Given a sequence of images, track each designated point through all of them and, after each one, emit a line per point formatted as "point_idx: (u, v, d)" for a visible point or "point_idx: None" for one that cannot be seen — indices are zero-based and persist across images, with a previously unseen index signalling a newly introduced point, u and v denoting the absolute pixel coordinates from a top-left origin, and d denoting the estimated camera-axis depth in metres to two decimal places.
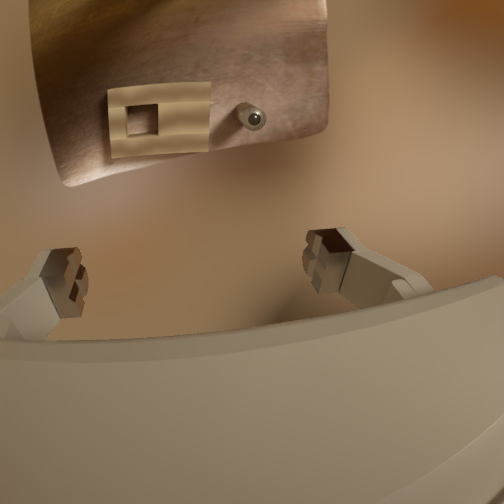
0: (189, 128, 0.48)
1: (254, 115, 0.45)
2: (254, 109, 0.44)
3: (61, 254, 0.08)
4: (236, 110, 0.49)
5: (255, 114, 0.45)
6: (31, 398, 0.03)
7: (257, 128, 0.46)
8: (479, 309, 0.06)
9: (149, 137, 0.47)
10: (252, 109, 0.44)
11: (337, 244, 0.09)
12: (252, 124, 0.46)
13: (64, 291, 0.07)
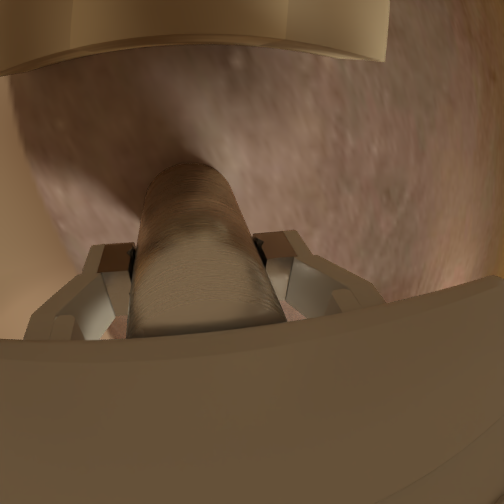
0: None
1: None
2: None
3: (118, 249, 0.08)
4: (205, 178, 0.10)
5: None
6: (31, 398, 0.03)
7: None
8: (479, 309, 0.06)
9: None
10: None
11: (279, 248, 0.09)
12: None
13: (125, 287, 0.08)
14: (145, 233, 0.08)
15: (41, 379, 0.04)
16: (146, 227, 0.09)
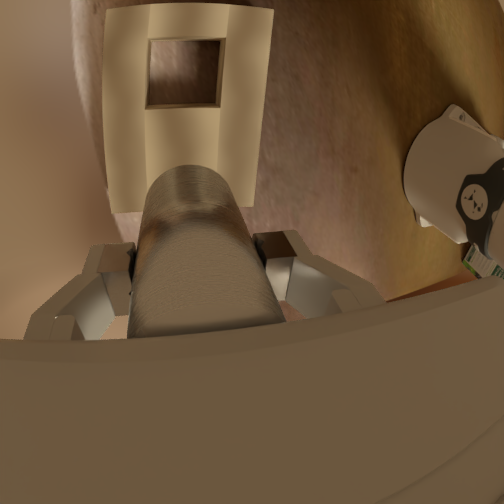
0: (158, 173, 0.23)
1: None
2: None
3: (118, 249, 0.08)
4: (205, 180, 0.10)
5: None
6: (31, 398, 0.03)
7: None
8: (479, 310, 0.06)
9: (142, 90, 0.19)
10: None
11: (280, 248, 0.09)
12: None
13: (125, 287, 0.08)
14: (145, 235, 0.08)
15: (41, 379, 0.04)
16: (146, 229, 0.09)
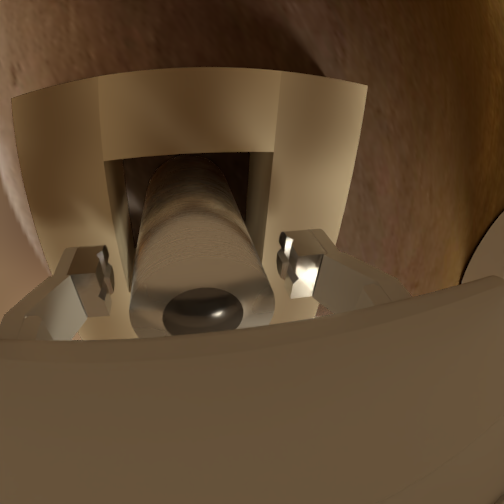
0: None
1: (227, 312, 0.08)
2: (265, 307, 0.08)
3: (89, 251, 0.08)
4: (201, 168, 0.12)
5: (232, 313, 0.08)
6: (31, 398, 0.03)
7: None
8: (479, 310, 0.06)
9: (117, 263, 0.11)
10: (266, 298, 0.08)
11: (309, 246, 0.09)
12: (166, 314, 0.07)
13: (94, 289, 0.08)
14: (148, 212, 0.10)
15: (41, 379, 0.04)
16: (149, 208, 0.10)
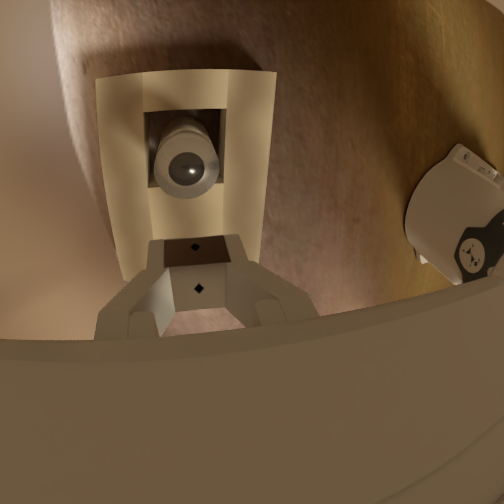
0: None
1: (197, 168, 0.17)
2: (214, 165, 0.17)
3: (180, 244, 0.09)
4: (191, 120, 0.21)
5: (200, 168, 0.17)
6: (31, 398, 0.03)
7: (160, 180, 0.17)
8: (479, 309, 0.06)
9: (143, 168, 0.20)
10: (214, 160, 0.17)
11: (214, 254, 0.09)
12: (170, 166, 0.17)
13: (191, 282, 0.08)
14: (164, 135, 0.19)
15: (41, 379, 0.04)
16: (164, 134, 0.19)
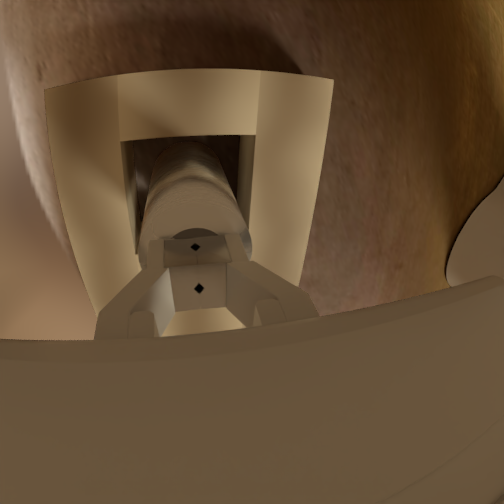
0: None
1: None
2: (244, 248, 0.10)
3: (180, 244, 0.09)
4: (198, 150, 0.14)
5: None
6: (31, 398, 0.03)
7: None
8: (479, 310, 0.06)
9: (127, 227, 0.14)
10: (244, 240, 0.10)
11: (214, 254, 0.09)
12: None
13: (191, 282, 0.08)
14: (155, 181, 0.12)
15: (41, 379, 0.04)
16: (156, 178, 0.12)
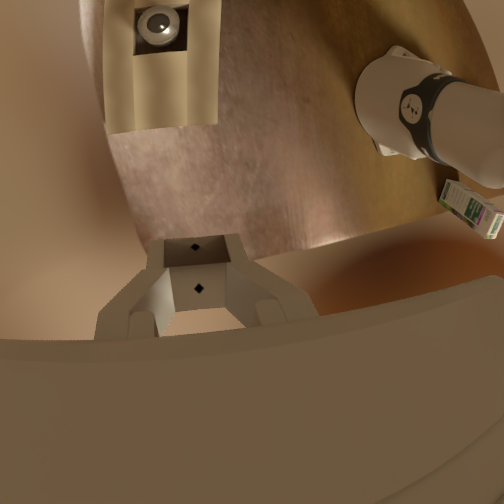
0: (142, 100, 0.28)
1: (165, 22, 0.20)
2: (176, 20, 0.20)
3: (180, 244, 0.09)
4: None
5: (166, 22, 0.20)
6: (31, 398, 0.03)
7: (141, 30, 0.20)
8: (479, 310, 0.06)
9: (131, 42, 0.23)
10: (176, 17, 0.20)
11: (214, 254, 0.09)
12: (148, 22, 0.20)
13: (191, 282, 0.08)
14: None
15: (41, 379, 0.04)
16: None
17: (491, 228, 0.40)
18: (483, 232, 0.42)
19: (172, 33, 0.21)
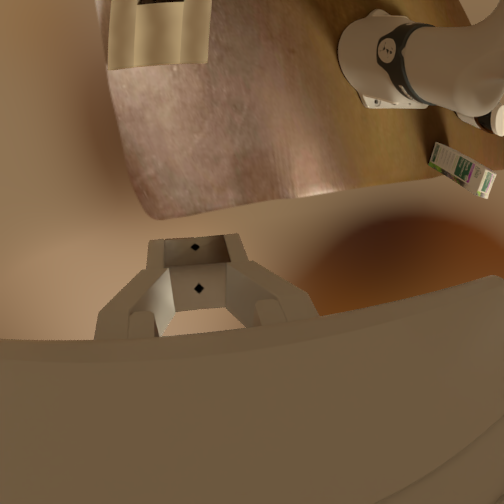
0: (142, 41, 0.28)
1: None
2: None
3: (180, 244, 0.09)
4: None
5: None
6: (31, 398, 0.03)
7: None
8: (479, 310, 0.06)
9: None
10: None
11: (214, 254, 0.09)
12: None
13: (191, 282, 0.08)
14: None
15: (41, 379, 0.04)
16: None
17: (481, 185, 0.40)
18: (473, 188, 0.41)
19: None
